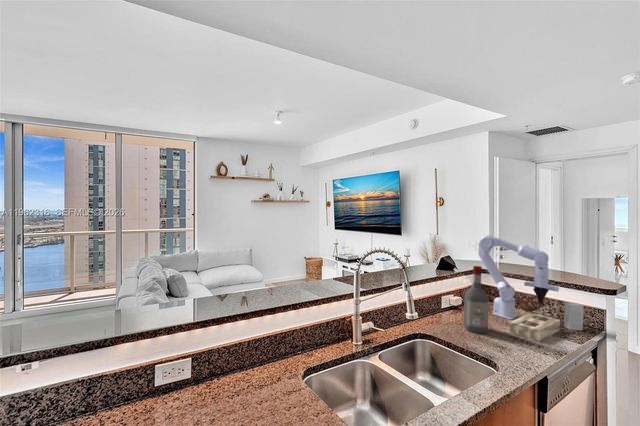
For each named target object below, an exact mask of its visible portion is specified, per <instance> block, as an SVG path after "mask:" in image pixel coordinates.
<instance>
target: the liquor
mask: <svg viewBox="0 0 640 426" xmlns="http://www.w3.org/2000/svg"><path fill="white" fill-rule="evenodd" d="M482 269H483V267H482V266H480V265H479V266H478V265H473V268H472V270H473V271H472V274H473V277H472V284H471V286H470V288H468V289H467V290H466V291H465V292H464V300H463V301H464V302H463V304H464V305H463V326H464V328H465V329H466V331H468V332H471V333H475V334H477V333H478V334H486V333H487V331H488V327H489V326H488V324H489V304H490V303H489V302H490V301H489V299H490V298H489V295H488V294H487V293H486V291H484V289H483V288H482Z"/></svg>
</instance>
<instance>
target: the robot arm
mask: <svg viewBox="0 0 640 426" xmlns="http://www.w3.org/2000/svg"><path fill="white" fill-rule="evenodd" d="M495 247H502V248H504V249H507V250H510V251H514V252H516V254H517V255H518V256H520V257H523V258H525V259H528V260H530V261H534V267H533V268H534V269H533V270H534V271H533V273H534V275H533V279H534V282H532V281H524V284H523V285H524V286H525V287H532V288H533V289H532V290H533V292H534V294H535V296H536V298H537V302H538V303H539V304H543V303H544V300H545V297H546V295H547V294H548V293H549V291H553V292H557V293H558V292H559V291H560V288H559V287H558V286H554V285H550V284H549V264H548V263H549V258H550V257H549V255H548V254H547V252H544V251H542V250H541V251H540V249H535V248H532V247H530V246H529V245H527V244H525V245H524V244H522V245H517V244H515V243H512V242H510V241H507V240H505V239H502V238H500V237H496V236H493V235H486V236H482V237H481V238H480V239H479V242H478V257H479V258H480V260H481V262H482V263H483V264H484V267H485V268H486V269H487V271H488V273H489V275H490V276H491V277H492V280H493V281H494V283H495V285H496V288H497V290H498V291H499V293H498V294H499V297H497V296H496V297H495V298H494V300H493V309H492V310H493V311H492V315H494V316H497V317H501V318H504V319H508V320H512V321H513V319H514V320H515V319H517V318H519V317H518V315H515V313H516V312H515V311H516V299H515V298H514V297H515V295H516V290H515V288H514V287H513V286H511V284H510V283H509V282H508V281H507V280H506V279H505V277H504V276H503V274H502V273H501V271H500V270H499V267H498V266H497V264H496V263H495V261H494V260H493V258H492V257H491V255H490V253H491V250H492V248H495Z"/></svg>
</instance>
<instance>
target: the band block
mask: <svg viewBox="0 0 640 426" xmlns="http://www.w3.org/2000/svg"><path fill="white" fill-rule="evenodd" d="M536 317H543V318H545V319H546V320H545V321H543V320H540V319H536ZM525 322H533V323H535V326H531V325H528V324H525ZM560 329H561V319H559V318H554V317H550V316H547V315H545V314H540V313H536V312H529V313H527V314H525V315H522V316H521V317H517V318H515V319H514V320H512V321H510V322H509V333H510V334H513V335H517V336H519V337H522V338H525V339H528V340H531V341H534V342H538V343H541V342H543V341H544V340H546V339H548V338H549V337H550V336H552V335H554V334H556V333H557V332H559V331H560Z"/></svg>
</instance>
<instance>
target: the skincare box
mask: <svg viewBox="0 0 640 426" xmlns="http://www.w3.org/2000/svg"><path fill="white" fill-rule="evenodd" d="M563 320H564V322H563V324H564V325H563V327H564V328H565V329H568V330H570V331H583V330H584V329H583V328H584V305H582V304H580V303H577V302H564V319H563Z"/></svg>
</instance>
